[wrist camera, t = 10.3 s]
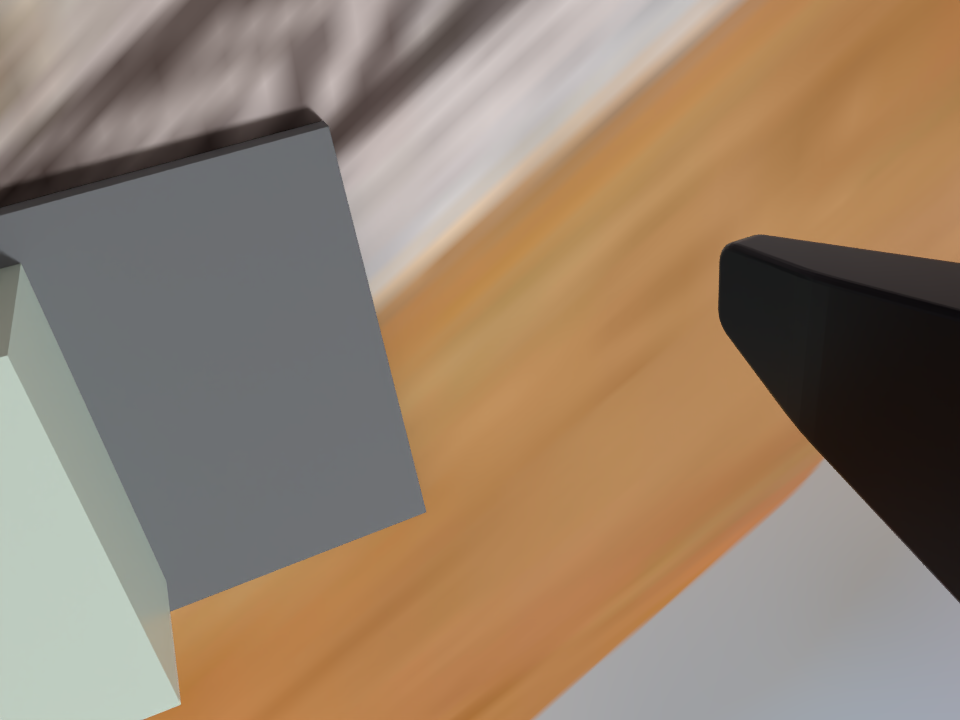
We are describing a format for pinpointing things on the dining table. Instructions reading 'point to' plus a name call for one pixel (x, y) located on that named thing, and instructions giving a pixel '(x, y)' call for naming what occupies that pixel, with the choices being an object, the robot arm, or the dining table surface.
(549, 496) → the dining table surface
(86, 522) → the card case
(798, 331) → the robot arm
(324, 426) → the rubber mat
